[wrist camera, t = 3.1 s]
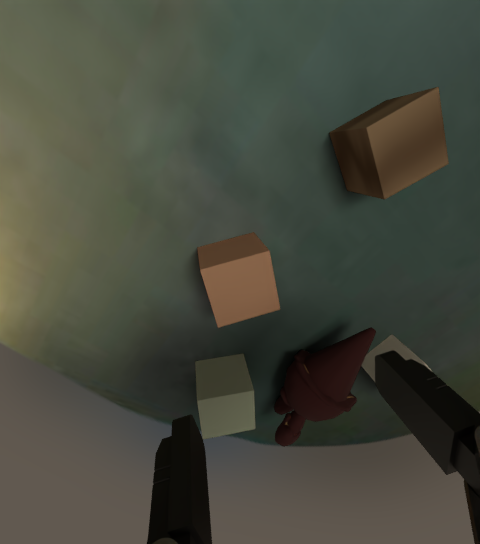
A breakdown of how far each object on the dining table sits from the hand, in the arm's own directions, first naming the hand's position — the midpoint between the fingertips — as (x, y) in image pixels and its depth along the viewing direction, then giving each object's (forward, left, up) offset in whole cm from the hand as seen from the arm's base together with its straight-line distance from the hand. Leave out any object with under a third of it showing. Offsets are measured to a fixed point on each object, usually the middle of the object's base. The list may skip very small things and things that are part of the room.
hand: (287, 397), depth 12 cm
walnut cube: (-7, +13, -15) cm, 21 cm away
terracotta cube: (0, 0, -15) cm, 15 cm away
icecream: (+13, +6, -15) cm, 21 cm away
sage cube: (+12, -4, -15) cm, 19 cm away
